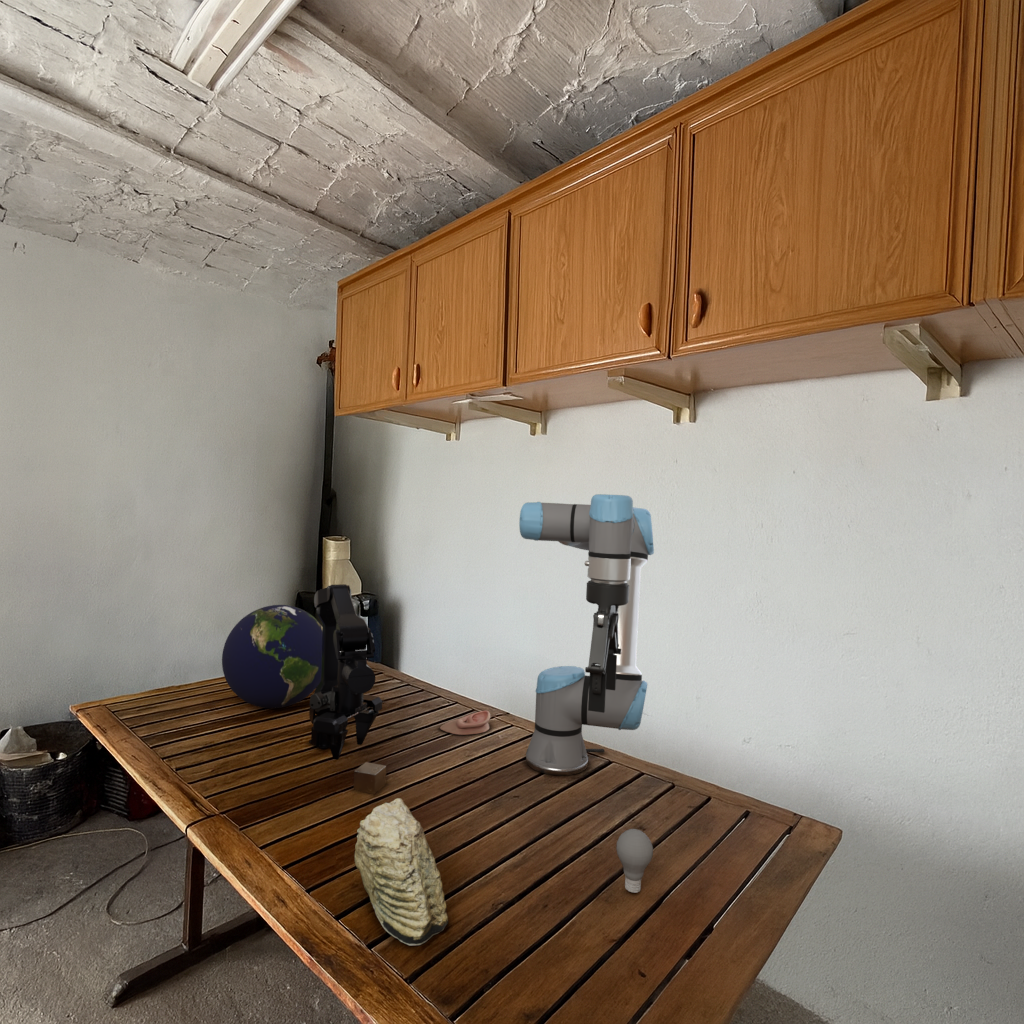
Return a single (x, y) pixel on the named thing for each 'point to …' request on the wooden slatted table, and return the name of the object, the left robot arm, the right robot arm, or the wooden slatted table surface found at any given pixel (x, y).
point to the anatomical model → (468, 724)
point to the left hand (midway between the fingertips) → (348, 751)
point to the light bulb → (634, 857)
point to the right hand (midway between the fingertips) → (602, 699)
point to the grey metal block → (369, 778)
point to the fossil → (400, 874)
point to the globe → (274, 656)
